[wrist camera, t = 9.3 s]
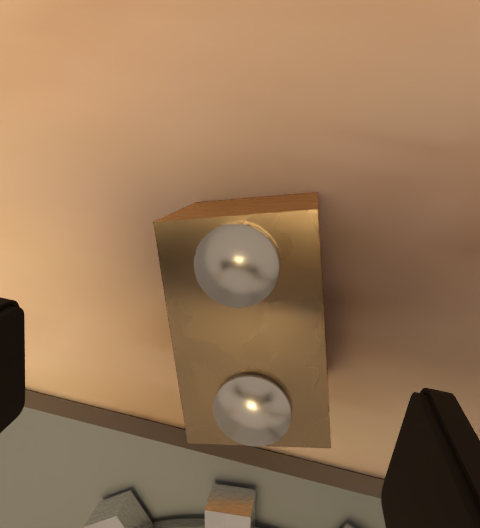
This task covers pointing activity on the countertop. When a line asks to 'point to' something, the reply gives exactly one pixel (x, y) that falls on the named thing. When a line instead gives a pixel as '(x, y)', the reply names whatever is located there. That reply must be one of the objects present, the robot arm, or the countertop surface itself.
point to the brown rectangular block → (248, 320)
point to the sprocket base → (160, 473)
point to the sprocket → (214, 524)
